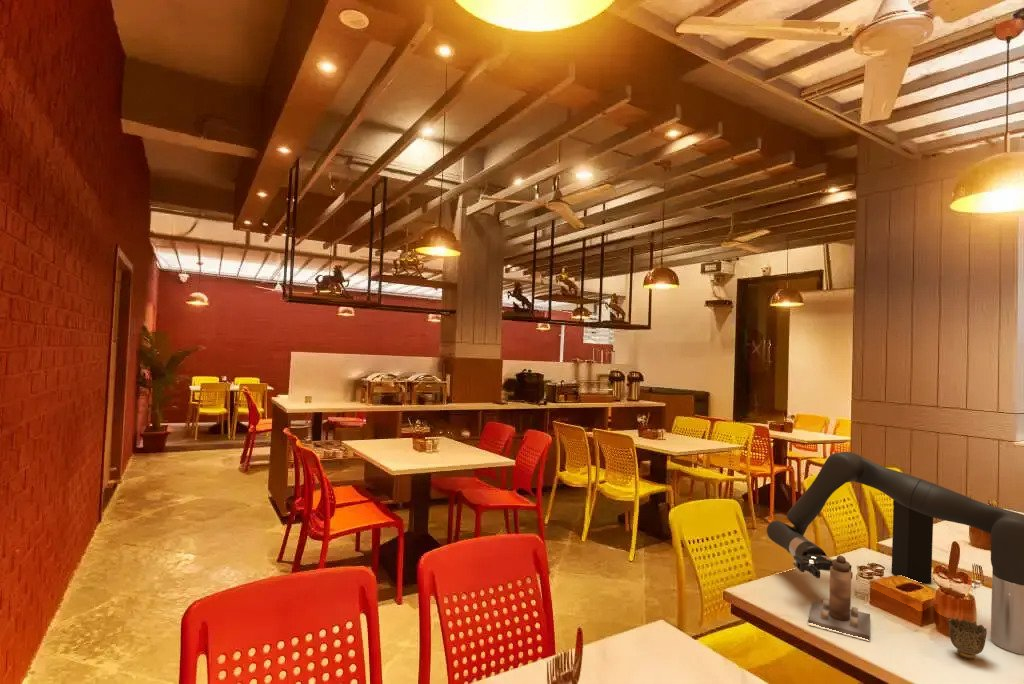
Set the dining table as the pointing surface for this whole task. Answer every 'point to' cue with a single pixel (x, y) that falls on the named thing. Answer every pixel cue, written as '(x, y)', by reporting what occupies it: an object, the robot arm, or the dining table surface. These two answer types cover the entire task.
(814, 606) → the board
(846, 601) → the pepper mill
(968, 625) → the cup
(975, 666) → the dining table surface
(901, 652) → the dining table surface
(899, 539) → the tissue box
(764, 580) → the dining table surface
